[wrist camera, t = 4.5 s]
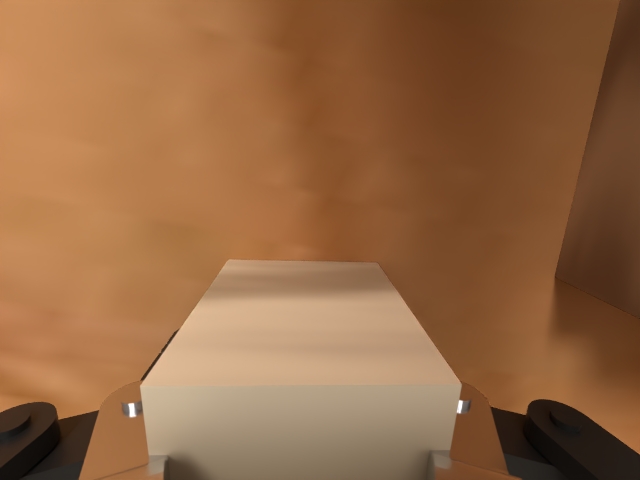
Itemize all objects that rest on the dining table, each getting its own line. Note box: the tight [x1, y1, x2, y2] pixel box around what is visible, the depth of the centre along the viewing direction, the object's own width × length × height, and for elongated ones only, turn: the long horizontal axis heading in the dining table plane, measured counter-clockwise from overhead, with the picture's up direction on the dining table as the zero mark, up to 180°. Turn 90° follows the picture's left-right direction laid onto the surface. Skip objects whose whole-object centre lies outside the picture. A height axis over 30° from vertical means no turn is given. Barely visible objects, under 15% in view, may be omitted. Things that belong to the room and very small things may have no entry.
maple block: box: [140, 259, 462, 480], centre depth 9 cm, size 5×5×6 cm
